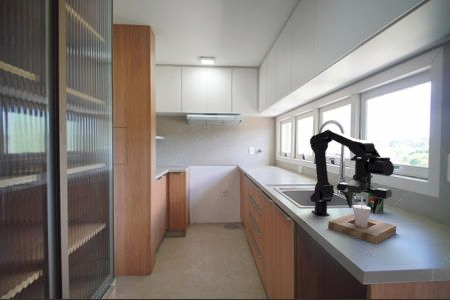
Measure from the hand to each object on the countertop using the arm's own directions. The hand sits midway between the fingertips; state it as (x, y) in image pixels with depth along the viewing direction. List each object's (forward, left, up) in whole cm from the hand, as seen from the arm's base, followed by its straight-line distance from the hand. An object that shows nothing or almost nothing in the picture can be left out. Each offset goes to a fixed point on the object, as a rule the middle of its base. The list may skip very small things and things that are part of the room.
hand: (361, 210), depth 93 cm
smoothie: (0, 0, -8) cm, 8 cm away
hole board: (0, 0, -8) cm, 8 cm away
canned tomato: (-26, +26, -8) cm, 38 cm away
